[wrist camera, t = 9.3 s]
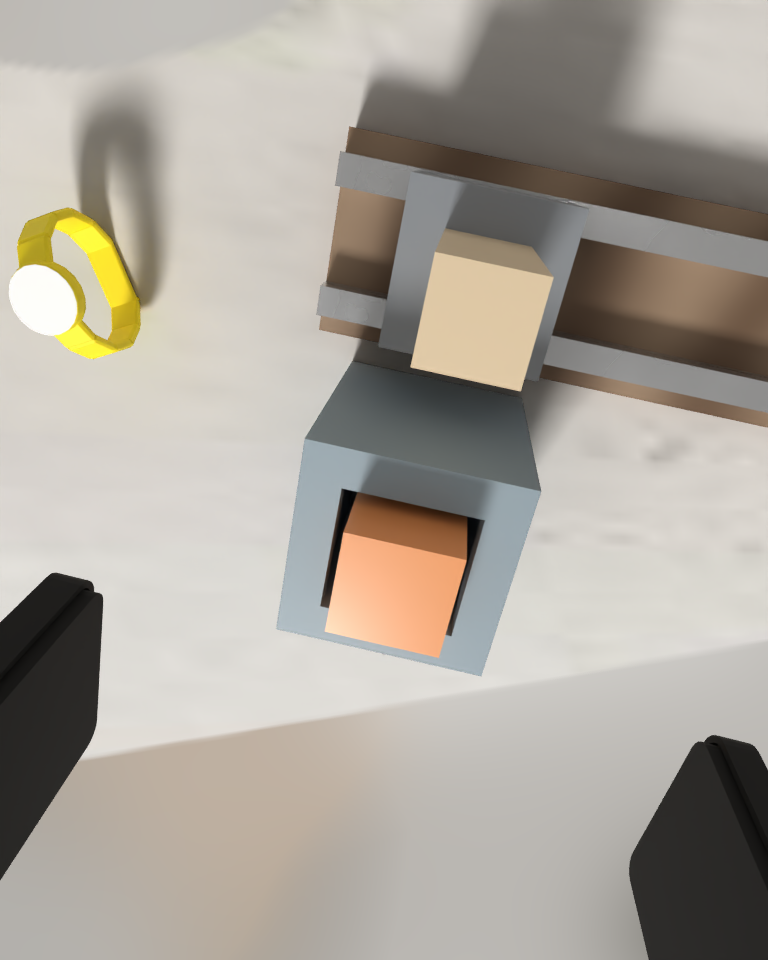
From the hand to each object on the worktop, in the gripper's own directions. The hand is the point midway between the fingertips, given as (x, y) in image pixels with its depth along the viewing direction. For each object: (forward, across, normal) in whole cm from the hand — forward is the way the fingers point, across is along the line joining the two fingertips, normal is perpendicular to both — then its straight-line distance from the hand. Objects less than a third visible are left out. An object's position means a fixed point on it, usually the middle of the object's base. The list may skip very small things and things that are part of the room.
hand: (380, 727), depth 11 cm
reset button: (+14, 0, +5) cm, 15 cm away
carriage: (+20, -1, -5) cm, 20 cm away
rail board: (+23, -6, -5) cm, 24 cm away
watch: (+23, +15, 0) cm, 28 cm away
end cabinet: (+23, 0, +5) cm, 23 cm away
